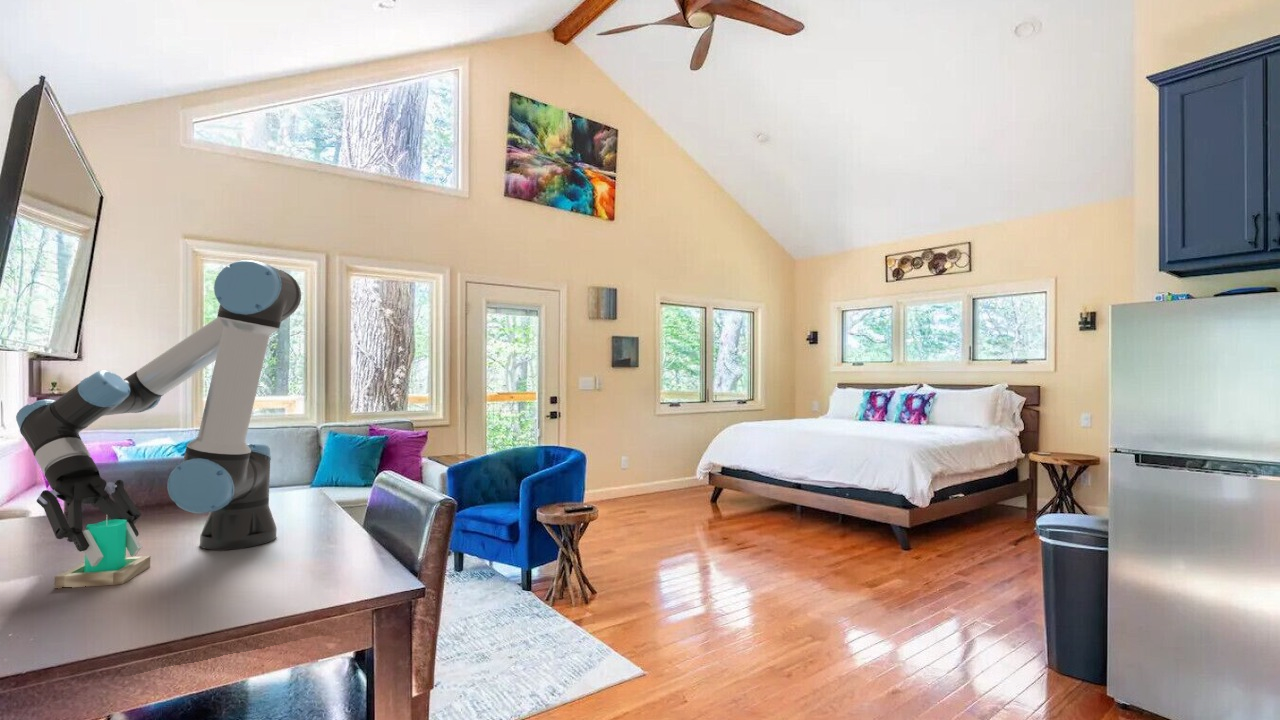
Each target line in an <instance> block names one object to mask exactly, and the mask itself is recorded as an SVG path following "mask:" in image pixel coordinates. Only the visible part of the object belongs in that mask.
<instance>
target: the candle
mask: <svg viewBox="0 0 1280 720" xmlns="http://www.w3.org/2000/svg"><path fill="white" fill-rule="evenodd" d="M105 515H106V514H105ZM105 517H106V518H105V520H102V521H99V522H96V523H87V525H86V526H85V530H89V531H90V532H91V534H92V536H93V538H94V540H95V542H96V544H97V546H98V547H99V549H100V551H101V553H102V555H103V558H102V559H101V561H100V562H99V563H98V565H97V566H93V567H92V566H91V564H90V562H89V560H88V558H87V556H86V554H85V553H84V562H85V572H101V571H117V570H119V569H121V568H123V567H124V566H125V564H126V557H127V554H126V553H127V551H126V550H127V548H126V530H127V520H123V519H112V520H111V519H108V516H107V515H106V516H105Z"/></svg>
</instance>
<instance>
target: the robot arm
mask: <svg viewBox="0 0 1280 720" xmlns="http://www.w3.org/2000/svg"><path fill="white" fill-rule="evenodd" d="M217 274H218V275H216V277H215V281H214V284H213V285H214V286H213V291H214V296H215V298H216V300H217V301H218V303H219V307H218V312H217V315H216V318H214V319H213V320H210V322H208V323H207V324H205V325H204V326H203V327H201V328H199V329H197V330H196V331H195V332H193V333H192V334H190V335H188V336H186V338H184V339H182V340H180V341H179V342H178V343H176V344H175V345H174V346H172V347H170V348H168V350H166V351H164V352H163V353H162V354H160V355H159V356H157V357H155V358H154V359H153V360H151V361H149V362H148V363H146V364H145V365H143V366H141V367H140V368H139V369H137V370H135V372H133V373H131V374H130V375H128V376H127V377H125V378H122V377H121V376H119V375H118V374H116V373H114V372H111V371H108V370H98V371H96V372H94V373H92V374H91V375H89V376H88V377H85V378H83V379H82V380H81V381H80V382H79V383H78V384H76V385H75V386H73V387H72V388H71V389H70V390H68V391H67V392H65V393H64V394H63V395H61V396H60V397H59V398H57V399H40V400H36V401H34V402H33V403H30V404H29V403H28V404H26V405H24V406H22V407H21V408H20V409H18V412H17V413H16V415H15V416H16V417H15V420H16V423H17V425H18V428H19V432H20V434H21V436H22V437H23V439H24V440H25V441H26V443H27V445H28V446H29V448H30V449H31V452H32V453H33V456H34V459H35V460H36V462H37V464H38V465H39V468H40V469H41V471H42V473H43V474H44V478H45V479H46V481H47V484H48V485H49V487H50V489H51V490H47V489H46V490H42V492H41V493H40V494H39V496H38V498H37V499H36V503H38V504H39V506H41V508H42V509H44V513H45V515H46V517H47V519H48V522H49V524H50V527H51V529H52V531H53V533H54V536H55V538H56V539H58V540H62V539H64V538H65V539H66V541H67V542H70V543H73V544H74V546H75V548H76V550H77V551H78V552H83V553H84V555H85V554H86V556H87V558H88V560H89V562H90V564H91V566H92V567H93V566H97V565H98V563H99V562H100V561H101V559H102V558H103V555H102V553H101V551H100V549H99V547H98V546H97V544H96V542H95V540H94V538H93V536H92V534H91V532H90V531H89V530H86V529H85V530H83V529H84V527H83V526H84V525H83V510H82V509H83V508H82V505H85V504H86V505H87V504H89V505H90V504H91V505H92V506H93V508H98V509H99V510H100V511H101V512H102V513H104V514H105V515H107V518H109V520H112V519H123V520H127V530H126V550H127V552H128V554H129V555H130V557H137V555H138V554H139V552H140V551H141V550H142V548H143V546H142V544H141V542H140V540H139V538H138V536H139V531H138V529H137V528H136V525H135V524H136V523H137V522H138V520H139V519H140V517H141V516H142V514H141V511H140V510H139V509H138V507H137V505H135V503H134V502H133V500H132V498H131V497H130V495H129V494H128V492H127V491H126V489H125V486H124V485H125V483H124V481H123V480H122V479H118V480H116V481H115V482H109V481H108V482H107V481H106V480H105V479H104V478H103V477H101V475H100V471H99V468H98V466H97V464H96V463H95V460H94V459H93V458H92V457H91V456H92V455H91V453H90V452H89V450H88V449H87V446H86V445H85V443H84V442H83V439H82V438H81V435H80V432H82V431H83V430H84V429H87V428H88V427H89V426H90V425H92V424H93V423H95V422H96V421H97V420H99V419H101V418H102V417H105V416H113V415H114V416H115V415H120V414H121V415H124V414H138V413H143V412H145V411H150V410H152V409H154V408H155V407H156V406H157V405H158V404H159V402H160V401H161V399H162V397H163V396H164V395H166V394H167V393H169V392H170V391H172V390H174V389H175V388H176V387H178V386H180V385H181V384H182V383H184V382H185V381H187V380H188V379H190V378H191V377H193V376H194V375H196V374H197V373H199V372H200V371H201V370H203V369H204V368H206V367H207V366H209V365H210V364H211V365H212V363H213V362H214V366H213V371H212V375H211V380H210V383H209V388H208V392H207V397H206V400H205V405H204V409H203V413H202V417H201V420H200V421H201V422H200V425H199V429H198V433H197V436H196V438H194V439H192V440H190V442H188V443H187V444H186V448H185V452H184V456H183V461H182V462H180V463H178V465H176V466H175V468H173V469H172V471H170V472H171V473H170V474H169V476H168V479H167V487H166V488H167V492H168V496H169V497H170V500H172V501H173V502H174V503H175V504H176V506H177V507H178V508H180V509H182V510H184V511H186V512H189V513H193V514H207V513H208V516H207V518H206V521H205V523H204V525H203V528H202V530H201V533H200V537H199V547H200V548H203V549H207V550H215V551H216V550H218V551H221V550H237V549H243V548H244V549H245V548H251V547H256V546H260V545H262V544H266V543H269V542H272V541H274V540H276V538H277V531H278V529H277V525H276V522H275V519H274V517H273V514H272V511H271V509H270V480H271V479H270V475H271V474H270V473H271V460H272V456H271V450H270V449H271V448H270V446H269V445H267V444H266V443H246V438H247V434H248V431H249V430H248V429H249V425H250V422H251V416H252V412H253V409H254V405H255V399H256V395H257V391H258V387H259V382H260V377H261V373H262V369H263V366H264V361H265V356H266V352H267V347H268V343H269V338H270V336H271V335H272V334H274V333H276V332H277V331H279V330H280V327H281V323H282V322H283V321H285V320H286V319H288V318H289V317H290V316H291V315H293V314H294V313H295V312H296V311H297V309H299V306H300V304H301V300H302V291H301V287H300V285H299V283H298V281H297V279H295V278H294V277H293V276H292V275H291V274H289V273H287V272H286V271H284V270H282V269H278V268H275V267H274V266H271V265H270V264H268V263H264V262H262V261H255V260H250V259H249V260H248V259H246V260H245V259H243V260H238V261H234V262H232V263H230V264H229V265H226V266H225V267H224V268H223V269H221V270H220V271H219V273H217ZM107 491H108V492H107ZM110 495H111V497H112V498H111V497H110ZM58 499H59V500H61V501H63V502H65V505H66V506H65V508H66V512H67V518H66V516H65V513H64V511H63V508H62V506H61V504H60V502H59V500H58Z"/></svg>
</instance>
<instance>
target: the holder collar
mask: <svg viewBox="0 0 1280 720" xmlns="http://www.w3.org/2000/svg"><path fill="white" fill-rule="evenodd" d="M151 557H152V556H151V555H146V556H145V555H144V556H143V555H142V556H133V557H131V556H126V564H125V566H124V567H123V568H121V569H119V570H117V571H101V572H85V561H83V562H81V563H79V564H77V565H75V566H73V567H71V568H69V569H67V570H65V571H63V572H61V573H59V574H57V575H55V576H54V583H53V584H54V586H53V587H54V588H58V589H63V588H62V587H72V588H83V587H85V586H86V587H97V586H98V587H100V586H101V587H102V586H113V585H114V586H115V585H123V584H125V583H127V582H128V581H129V580H132V579H133V578H135V577H136V576H138V575H139V574H141V573H144V571H146V570H147V569H149V568H150V567H151Z"/></svg>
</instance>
